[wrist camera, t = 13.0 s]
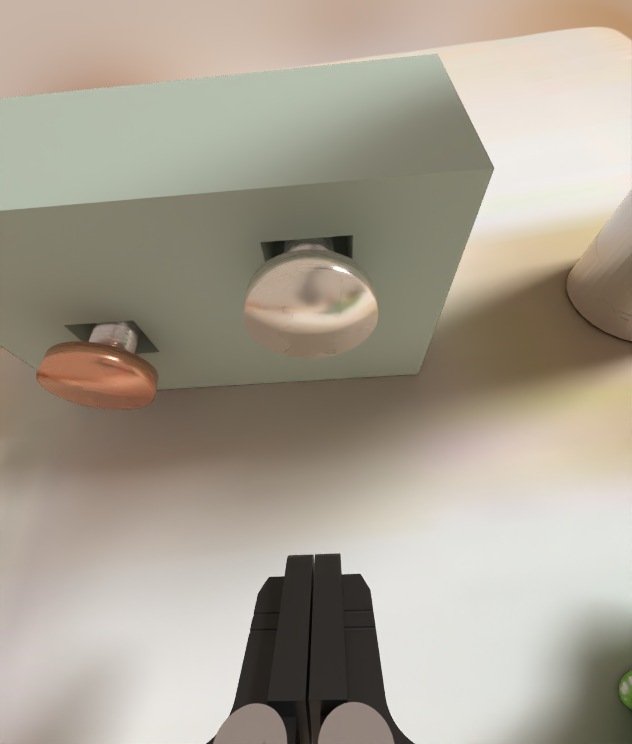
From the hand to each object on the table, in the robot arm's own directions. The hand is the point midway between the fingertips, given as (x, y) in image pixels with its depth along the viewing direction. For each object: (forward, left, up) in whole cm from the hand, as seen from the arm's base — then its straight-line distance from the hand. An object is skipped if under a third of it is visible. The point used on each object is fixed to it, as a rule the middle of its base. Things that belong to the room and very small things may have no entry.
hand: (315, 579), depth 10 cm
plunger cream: (-11, -11, -3) cm, 16 cm away
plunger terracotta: (-3, -20, -7) cm, 21 cm away
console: (-8, -17, -11) cm, 22 cm away
